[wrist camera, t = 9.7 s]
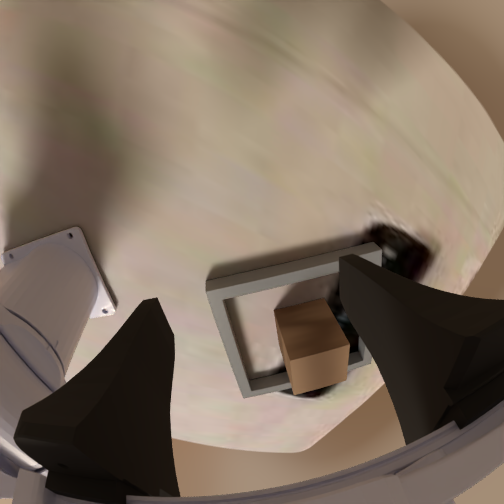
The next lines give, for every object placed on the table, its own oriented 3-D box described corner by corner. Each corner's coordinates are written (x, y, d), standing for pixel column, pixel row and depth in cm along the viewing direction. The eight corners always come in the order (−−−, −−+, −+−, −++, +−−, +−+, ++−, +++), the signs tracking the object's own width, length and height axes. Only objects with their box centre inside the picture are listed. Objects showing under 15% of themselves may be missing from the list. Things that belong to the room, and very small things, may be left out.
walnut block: (279, 345, 27) (293, 394, 22) (273, 309, 25) (289, 360, 20) (324, 334, 27) (346, 380, 22) (323, 297, 25) (349, 344, 20)
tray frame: (241, 387, 29) (243, 398, 28) (205, 280, 23) (205, 291, 21) (365, 354, 30) (370, 363, 28) (373, 241, 23) (381, 249, 22)
